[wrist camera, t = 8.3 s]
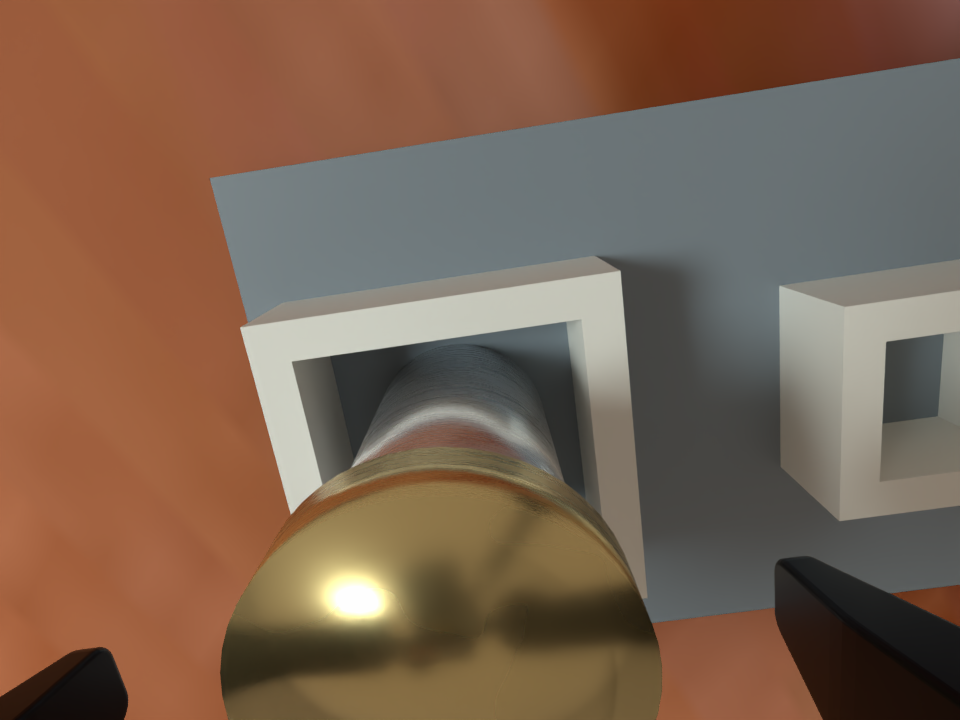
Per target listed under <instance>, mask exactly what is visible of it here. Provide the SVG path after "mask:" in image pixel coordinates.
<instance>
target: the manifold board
mask: <svg viewBox="0 0 960 720" xmlns="http://www.w3.org/2000/svg"><path fill="white" fill-rule="evenodd" d="M210 181H211V185H212V188H213V192H214V196H215V200H216V203H217V207H218V211H219V215H220V218H221V222H222V226H223V230H224V233H225V237H226V241H227V245H228V248H229V252H230V256H231V260H232V263H233V267H234V271H235V275H236V278H237V282H238V286H239V290H240V293H241V297H242V301H243V305H244V309H245V312H246V316H247V320H248V323H247V324H245V325H244V326H242V327H240V329H241V332H242V336H243V340H244V343H245V347H246V351H247V354H248V358H249V362H250V365H251V369H252V373H253V376H254V380H255V384H256V388H257V391H258V395H259V399H260V402H261V406H262V410H263V413H264V417H265V421H266V424H267V428H268V432H269V435H270V439H271V443H272V447H273V450H274V454H275V458H276V461H277V465H278V469H279V472H280V476H281V480H282V483H283V487H284V491H285V495H286V498H287V502H288V506H289V509H290V513H291V514H292V513H293V512H294V511H295V510H296V509H297V507H298V506H299V505H300V504H301V503H302V502H303V501H304V500H305V499H306V498H308V497H309V496H310V495H311V494H312V493H313V492H314V491H315V490H317V489H318V488H319V487H320V486H322V485H323V484H325V483H326V482H328V481H329V480H331V479H332V478H334V477H335V476H337V475H338V474H340V473H342V472H344V471H346V470H348V469H350V468H351V466H352V464H353V462H354V460H355V457H356V455H357V453H358V451H359V449H360V447H361V444H362V442H363V440H364V438H365V436H366V433H367V431H368V429H369V427H370V425H371V423H372V420H373V418H374V416H375V414H376V412H377V409H378V407H379V405H380V403H381V401H382V399H383V396H384V394H385V392H386V390H387V388H388V386H389V384H390V382H391V381H392V379H393V378H394V376H395V375H396V374H397V373H398V371H399V370H400V369H401V368H402V367H403V366H404V365H406V364H407V363H408V362H409V361H410V360H412V359H413V358H415V357H416V356H418V355H420V354H422V353H424V352H426V351H428V350H431V349H434V348H436V347H440V346H445V345H452V344H472V345H477V346H483V347H486V348H489V349H492V350H494V351H497V352H499V353H501V354H503V355H505V356H506V357H508V358H509V359H511V360H512V361H514V362H515V363H516V364H517V365H518V366H520V367H521V368H522V369H523V371H524V372H525V373H526V374H527V375H528V376H529V378H530V379H531V381H532V382H533V384H534V386H535V388H536V389H537V391H538V394H539V397H540V400H541V402H542V406H543V409H544V413H545V416H546V420H547V423H548V427H549V430H550V434H551V437H552V441H553V444H554V447H555V451H556V454H557V458H558V461H559V465H560V468H561V472H562V475H563V479H564V482H565V483H566V484H567V485H568V486H569V487H571V488H572V489H573V490H574V491H576V492H577V493H578V494H579V495H581V496H582V497H583V498H584V499H585V500H586V501H587V502H588V503H589V504H590V505H591V506H592V507H593V508H594V509H595V510H596V511H597V512H598V513H599V514H600V515H601V516H602V518H603V519H604V521H605V522H606V523H607V525H608V526H609V528H610V529H611V530H612V532H613V533H614V535H615V537H616V539H617V540H618V542H619V544H620V546H621V548H622V550H623V552H624V554H625V557H626V559H627V562H628V564H629V567H630V569H631V572H632V574H633V577H634V579H635V582H636V584H637V587H638V589H639V592H640V595H641V597H642V600H643V602H644V605H645V607H646V610H647V612H648V615H649V617H650V620H651V623H656V622H664V621H672V620H680V619H688V618H696V617H704V616H712V615H720V614H728V613H736V612H744V611H752V610H760V609H768V608H775V587H774V569H775V564H776V562H777V561H778V560H779V559H782V558H790V557H798V556H811V557H814V558H816V559H818V560H820V561H822V562H825V563H827V564H829V565H831V566H833V567H835V568H837V569H839V570H841V571H843V572H846V573H848V574H850V575H852V576H854V577H856V578H858V579H860V580H862V581H865V582H867V583H869V584H871V585H873V586H875V587H877V588H879V589H881V590H883V591H886V592H888V593H896V592H904V591H912V590H920V589H928V588H936V587H944V586H952V585H960V58H959V59H952V60H946V61H940V62H934V63H927V64H921V65H915V66H909V67H902V68H896V69H890V70H884V71H877V72H871V73H865V74H859V75H852V76H846V77H840V78H834V79H827V80H821V81H815V82H809V83H802V84H796V85H790V86H784V87H777V88H771V89H765V90H759V91H752V92H746V93H740V94H733V95H727V96H721V97H715V98H708V99H702V100H696V101H690V102H683V103H677V104H671V105H665V106H658V107H652V108H646V109H640V110H633V111H627V112H621V113H615V114H608V115H602V116H596V117H590V118H583V119H577V120H571V121H565V122H558V123H552V124H546V125H540V126H533V127H527V128H521V129H515V130H508V131H502V132H496V133H490V134H483V135H477V136H471V137H465V138H458V139H452V140H446V141H440V142H433V143H427V144H421V145H415V146H408V147H402V148H396V149H389V150H383V151H377V152H371V153H364V154H358V155H352V156H346V157H339V158H333V159H327V160H321V161H314V162H308V163H302V164H296V165H289V166H283V167H277V168H271V169H264V170H258V171H252V172H246V173H239V174H233V175H227V176H221V177H214V178H210Z"/></svg>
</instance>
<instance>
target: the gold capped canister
mask: <svg viewBox="0 0 960 720" xmlns="http://www.w3.org/2000/svg"><path fill="white" fill-rule="evenodd" d="M220 675H221V686H222V696H223V700H224V704H225V708H226V712H227V716H228V719H229V720H656V717H657V714H658V710H659V704H660V698H661V692H662V663H661V657H660V651H659V645H658V641H657V638H656V635H655V632H654V629H653V626H652V623H651V620H650V617H649V615H648V612H647V610H646V607H645V605H644V602H643V600H642V597H641V595H640V592H639V589H638V587H637V584H636V582H635V579H634V577H633V574H632V572H631V569H630V567H629V564H628V562H627V559H626V557H625V554H624V552H623V550H622V548H621V546H620V544H619V542H618V540H617V539H616V537H615V535H614V533H613V532H612V530H611V529H610V528H609V526H608V525H607V523H606V522H605V521H604V519H603V518H602V516H601V515H600V514H599V513H598V512H597V511H596V510H595V509H594V508H593V507H592V506H591V505H590V504H589V503H588V502H587V501H586V500H585V499H584V498H583V497H582V496H581V495H579V494H578V493H577V492H576V491H574V490H573V489H572V488H571V487H569V486H568V485H567V484H566V483H565V482H564V479H563V475H562V472H561V468H560V465H559V461H558V458H557V454H556V451H555V447H554V444H553V441H552V437H551V434H550V430H549V427H548V423H547V420H546V416H545V413H544V409H543V406H542V402H541V400H540V397H539V394H538V391H537V389H536V388H535V386H534V384H533V382H532V381H531V379H530V378H529V376H528V375H527V374H526V373H525V372H524V371H523V369H522V368H521V367H520V366H518V365H517V364H516V363H515V362H514V361H512V360H511V359H509V358H508V357H506V356H505V355H503V354H501V353H499V352H497V351H494V350H492V349H489V348H486V347H483V346H477V345H472V344H452V345H445V346H440V347H436V348H434V349H431V350H428V351H426V352H424V353H422V354H420V355H418V356H416V357H415V358H413V359H412V360H410V361H409V362H408V363H407V364H406V365H404V366H403V367H402V368H401V369H400V370H399V371H398V373H397V374H396V375H395V376H394V378H393V379H392V381H391V382H390V384H389V386H388V388H387V390H386V392H385V394H384V396H383V399H382V401H381V403H380V405H379V407H378V409H377V412H376V414H375V416H374V418H373V420H372V423H371V425H370V427H369V429H368V431H367V433H366V436H365V438H364V440H363V442H362V444H361V447H360V449H359V451H358V453H357V455H356V457H355V460H354V462H353V464H352V466H351V468H350V469H348V470H346V471H344V472H342V473H340V474H338V475H337V476H335V477H334V478H332V479H331V480H329V481H328V482H326V483H325V484H323V485H322V486H320V487H319V488H318V489H317V490H315V491H314V492H313V493H312V494H311V495H310V496H309V497H308V498H306V499H305V500H304V501H303V502H302V503H301V504H300V505H299V506H298V507H297V509H296V510H295V511H294V512H293V513H292V514H291V516H290V517H289V518H288V519H287V520H286V522H285V523H284V525H283V527H282V528H281V530H280V531H279V533H278V535H277V536H276V538H275V539H274V541H273V543H272V545H271V546H270V548H269V550H268V551H267V553H266V555H265V557H264V558H263V560H262V562H261V563H260V565H259V567H258V569H257V570H256V572H255V574H254V575H253V577H252V579H251V581H250V582H249V584H248V586H247V588H246V589H245V591H244V593H243V594H242V596H241V598H240V600H239V601H238V603H237V605H236V608H235V610H234V612H233V615H232V617H231V619H230V622H229V624H228V627H227V631H226V635H225V639H224V643H223V648H222V657H221V671H220Z"/></svg>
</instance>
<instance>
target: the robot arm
mask: <svg viewBox="0 0 960 720" xmlns="http://www.w3.org/2000/svg"><path fill="white" fill-rule="evenodd" d="M774 587H775V616H776V621H777V625H778V627H779V630H780V632H781V635H782V637H783V639H784V641H785V643H786V645H787V647H788V649H789V651H790V653H791V655H792V657H793V659H794V661H795V663H796V665H797V667H798V670H799V672H800V674H801V676H802V678H803V680H804V682H805V684H806V686H807V688H808V690H809V692H810V694H811V696H812V698H813V700H814V702H815V704H816V707H817V709H818V711H819V713H820V715H821V717H822V719H823V720H960V627H959V626H957V625H955V624H953V623H951V622H949V621H947V620H944V619H942V618H940V617H938V616H936V615H934V614H932V613H930V612H928V611H926V610H923V609H921V608H919V607H917V606H915V605H913V604H911V603H909V602H907V601H904V600H902V599H900V598H898V597H896V596H894V595H892V594H890V593H888V592H886V591H883V590H881V589H879V588H877V587H875V586H873V585H871V584H869V583H867V582H865V581H862V580H860V579H858V578H856V577H854V576H852V575H850V574H848V573H846V572H843V571H841V570H839V569H837V568H835V567H833V566H831V565H829V564H827V563H825V562H822V561H820V560H818V559H816V558H814V557H811V556H798V557H790V558H782V559H779V560H778V561H777V562H776V564H775V569H774ZM127 707H128V694H127V691H126V688H125V686H124V683H123V680H122V678H121V675H120V673H119V670H118V668H117V665H116V663H115V660H114V658H113V655H112V654H111V652H110V651H109V650H108V649H106V648H103V647H97V648H89V649H81V650H76V651H73V652H71V653H69V654H67V655H66V656H64V657H62V658H61V659H59V660H58V661H56V662H55V663H53V664H51V665H50V666H48V667H47V668H45V669H44V670H42V671H40V672H39V673H37V674H36V675H34V676H32V677H31V678H29V679H28V680H26V681H25V682H23V683H21V684H20V685H18V686H17V687H15V688H14V689H12V690H10V691H9V692H7V693H6V694H4V695H3V696H1V697H0V720H124V718H125V715H126V712H127Z"/></svg>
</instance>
